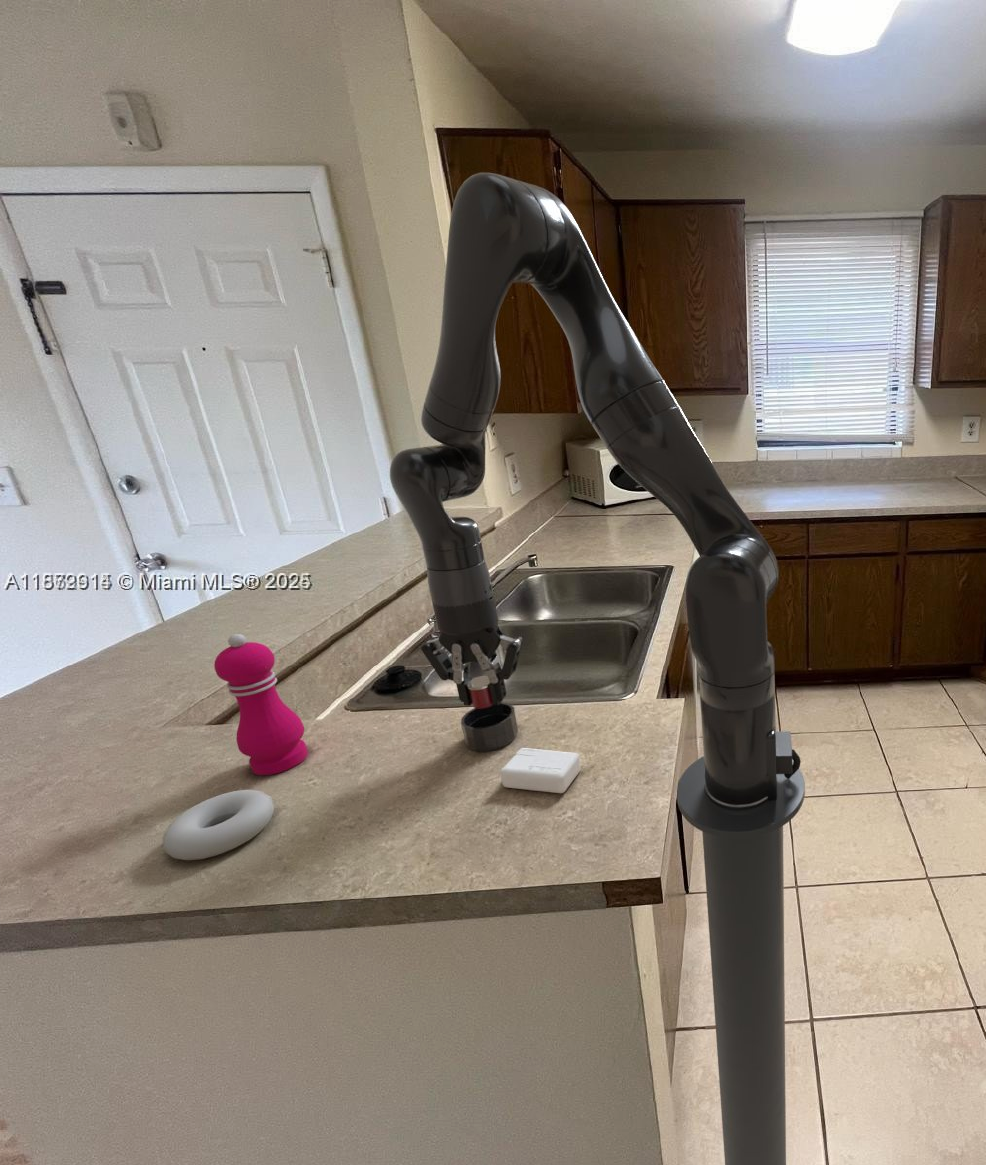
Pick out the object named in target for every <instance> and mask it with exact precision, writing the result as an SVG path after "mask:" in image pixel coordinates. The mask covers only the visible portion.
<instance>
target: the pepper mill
mask: <svg viewBox="0 0 986 1165" xmlns="http://www.w3.org/2000/svg"><path fill="white" fill-rule="evenodd" d="M227 643H228V645H229V646H228V647H226V648H224V649H223V650H222V651H220V652H219V653H218V654H217V656H216V657H215V660H214V663H213V665H214V666H213V667H214V671H215V674H216V676H217V677H218V678H219V679H221V680H222V681H224V682H227V684H226V689H228V694H229V695H231V696H232V697H235V699H236V701H237V704H238V708H239V709H238V710H239V722H238V726H237V730H236V744H237V748H238V750H239V752H240V753H241V754H242V755H244V756H247V757H249V759H248V763H249V766H250V769H251V771H252V773H253V774H254V775H256V776H257V775H258V776H271V775H277V774H279V773H283V772H285V771H288V770H290V769H293V768H294V767H296V766H297V765H299V764H301V763H302V762H303V761H304V760H306V758H307V757H308V755H309V751H308V748H307V745H306V742H305V741H304V740H303V739H302V738H303V737H304V734H305V725H304V724H303V721H302V719H301V718H300V717H299V715H298V714H297V713H296V712H295V711H293V709H291V708H290V707H289V706H287V704H285V703H284V702H283V700H282V699H281V698H280V695H279V693H278V692H277V690H276V683H277V682H278V679H277V677H276V672H274V670H272V669H273V668H274V666H275V663H276V662H275V661H276V659H275V655H274V653H273V651H272V650H271V649H270V648H269V647H268V646H266V645H265V644H263V643H259V642H256V641H255V642H254V641H252V642H251V641H249V642H247V638H246V636H245V635H243V634H241V633H235V634H232V635H231V636H229V637H228V639H227Z"/></svg>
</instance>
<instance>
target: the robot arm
mask: <svg viewBox="0 0 986 1165" xmlns="http://www.w3.org/2000/svg"><path fill="white" fill-rule="evenodd" d="M446 250H447V251H446V263H445V264H446V265H445V274H444V275H445V276H444V287H443V299H442V315H441V324H440V336H439V342H438V343H439V345H438V348H437V349H438V350H437V355H436V359H435V364H434V367H433V371H432V374H431V378H430V381H429V384H428V388H427V392H426V394H425V398H424V402H423V406H422V411H421V415H420V422H421V426H422V429H423V430H424V432H425V433H426V434H427V435H428V436H429V438H432V439H433V440H435V441H436V442H438V443H440V444H436V445H429V446H421V447H414V448H407V449H403V450H401V451H399V452H397V453H396V455H395V456H394V457H393V458H392V460H391V463H390V466H389V480H390V484H391V487H392V489H393V491H394V493H395V495H396V497H397V499H398V500H399V503H400V504H401V505H402V507H403V509H404V511H405V512H406V514H407V516H408V518H409V520H410V522H411V524H412V526H413V527H414V529H415V531H416V533H417V535H418V537H419V539H420V542H421V543H420V544H421V549H422V554H423V557H424V562H425V567H426V573H427V585H428V590H429V594H430V599H431V603H432V607H433V613H434V617H435V621H436V625H437V630H438V631H439V636H438V637H437V638H436V637H431V638H430V639H428V640H427V641H426V642H425V643H424V644H422V645H421V647H420V650H421V652H422V653H423V654H424V657H426V659H427V661H428V662H429V663H430V665H431V667H432V668H433V669H434V671H435V672H436V674H437V676H438V677H439V678H440V679H441V680H442V681H448V680H449V681H452V682H453V683H454V684H455V685H456V690H457V693H458V699H459V701H460V702H461V703H463V705H464V706H465V707H467V706H472V700H471V695H470V691H469V689H468V688H467V683H468V682H469V681H470V680H471V679H473V677H472V676H470V675H471V674H470V673H471V663H472V662H473V663H478V664H479V667H480V668H481V670H482V671H483V672H485V675H486V676H488V679H489V681H490V683H489V688H490V693H491V698H492V703H493V705H499V704H500V703H501V702H503V701H504V699H505V698H506V697H507V689H506V682H505V681H506V680H509V679H510V678H511V677H512V675H513V674H514V673H515V672H516V671H517V668H518V663H519V659H520V656H521V652H522V647H523V644H524V639H523V638H522V636H516V637H514V638H513V637H510V636H507V635H505V634H504V632H503V631H502V629H500V626H499V620H498V619H499V617H498V613H497V612H498V611H497V606H496V601H495V600H496V599H495V596H494V591H493V590H494V587H493V586H494V585H493V583H492V580H491V575H490V570H489V568H488V565H487V563H486V558H485V552H484V546H483V541H482V537H481V532H480V529H479V525H478V523H477V522H476V521H475V520H474V519H473V518H470V517H467V516H458V515H453V516H452V515H451V516H450V515H449V513H448V512H447V511H446V509H445V507H444V504H443V502H448V501H449V502H450V501H453V500H458V499H462V498H466V497H469V496H471V495H472V494H474V493H476V491H477V490H478V489H479V488H480V486H481V485H482V483H483V482H484V479H485V476H486V449H487V448H486V447H487V446H486V433H487V431H488V428H489V424H490V423H491V419H492V416H493V414H494V411H495V408H496V406H497V403H498V399H499V396H500V392H501V391H500V390H501V383H502V374H501V366H500V359H499V355H498V349H497V341H496V325H497V321H498V316H499V313H500V309H501V307H502V304H503V302H504V300H505V298H506V295H507V293H508V292H509V290H510V288H511V286H512V285H513V284H525V285H531V286H532V287H533V288H534V289H535V290H536V291H537V293H538V294H539V295H540V297H541V298H542V299H543V300H544V302H545V304H546V305H547V306H548V308H549V309H550V311H551V312H552V314H553V316H554V317H555V320H557V322H558V323H559V325H560V327H561V329H562V331H563V333H564V335H565V337H566V339H567V341H568V345H569V348H570V352H571V357H572V358H571V359H572V364H573V372H574V376H575V377H574V378H575V385H576V390H577V393H578V398H579V401H580V404H581V407H582V410H583V412H584V414H585V416H586V417H587V419H588V421H589V423H590V424H591V426H592V427H593V429H594V430H595V432H596V434H597V435H598V437H599V438H600V440H601V442H602V443H603V445H604V447H605V448H606V449H607V451H608V452H609V453H610V455H611V456H612V458H613V459H614V460H615V462H616V463H617V464H618V466H619V467H620V468H621V469H622V470H623V471H624V472H625V473H626V474H627V475H628V476H629V477H630V478H631V479H632V480H634V481H635V482H636V483H637V484H638V485H639V486H640V487H642V488H643V489H645V490H646V491H647V493H648V494H650V495H652V496H653V497H654V498H655V499H656V500H658V501H659V502H660V503H661V504H662V505H664V506H665V507H666V508H667V510H669V511H670V512H671V514H673V516H674V517H675V518H676V519H677V521H678V522H679V523H680V525H681V527H682V528H683V529H684V531H685V533H686V534H687V536H688V537H689V539H690V541H691V543H692V544H693V546H694V548H695V550H696V551H697V553H698V555H699V557H698V558H696V559H695V560H694V561H693V563H692V564H691V566H690V567H689V570H688V572H687V575H686V580H685V605H686V606H685V607H686V616H687V624H688V635H689V644H690V649H691V652H692V656H693V657H694V659H695V661H696V662H697V670H698V686H699V703H700V717H701V718H700V719H701V731H702V732H701V733H702V734H701V735H702V747H703V748H702V749H703V750H702V752H703V756H704V765H705V791H706V794H707V796H708V797H709V799H710V800H711V801H712V802H714V803H715V804H717V805H719V806H721V807H724V808H727V809H734V810H744V809H750V808H754V807H757V806H759V805H762V804H763V803H765V802H767V801H770V800H776V799H777V776H776V774H784V776H785V777H786V778H788V779H789V778H790V777H791V776H792V775H793V774H794V773H796V772H797V770H798V769H799V770H800V768H801V763H802V762H801V757H800V756H799V754H798V753H797V752H796V750H795V749H793V747H792V732H791V730H790V731H789V730H788V731H787V730H786V731H785V730H784V731H777V730H776V729H777V728H776V727H777V726H776V725H777V724H776V683H775V682H776V680H775V679H776V678H775V676H776V675H775V674H776V673H775V669H776V666H775V665H776V662H775V660H776V659H775V658H776V657H775V649H774V647H773V645H772V644H771V643H770V642H769V641H768V624H767V623H768V622H767V621H768V620H767V604H768V602H769V601H770V599H771V597H772V596H773V594H774V592H775V591H776V589H777V586H778V584H779V579H780V571H779V564H778V563H779V562H778V559H777V558H776V555H775V553H774V551H773V550H772V548H771V546H770V544H768V542H767V541H766V540H765V538H764V536H763V535H762V534H761V533H760V531H759V529H757V527H756V526H755V525H754V523H753V522H752V521H751V520H750V518H749V517H748V516H747V514H746V513H745V512H744V510H743V509H742V507H741V506H740V505H739V503H738V502H737V501H736V499H735V498H734V496H733V495H732V494H731V493H730V491H729V489H728V488H727V486H726V485H725V483H724V481H723V480H722V478H721V476H720V475H719V472H718V470H717V469H716V466H715V465H714V463H713V462H712V460H711V458H710V457H709V455H708V453H707V451H706V450H705V448H704V447H703V444H702V443H701V442H700V440H699V438H698V437H697V435H696V433H695V432H694V430H693V428H692V427H691V424H690V423H689V421H688V419H687V417H686V416H685V414H684V412H683V409H682V408H681V407H680V405H679V403H678V401H677V400H676V399H675V396H674V394H673V393H672V392H671V390H670V388H669V387H668V385H667V384H666V382H665V379H663V377H662V375H661V374H660V373H659V371H658V369H657V368H656V366H655V365H654V364H653V362H652V360H651V359H650V357H649V355H648V353H647V351H646V350H645V348H644V346H643V344H642V343H641V342H640V341H639V339H638V336H637V335H636V333H635V331H634V330H633V328H632V326H631V325H630V323H629V321H628V320H627V318H626V317H625V315H624V314H623V312H622V311H621V309H620V307H619V306H618V303H617V302H616V301H615V300H616V299H615V298H614V297H613V295H612V293H611V291H610V289H609V287H608V284H607V283H606V281H605V279H604V277H603V274H602V272H601V271H600V268H599V266H598V264H597V262H596V260H595V258H594V256H593V254H592V252H591V249H590V247H589V246H588V243H587V241H586V239H585V237H584V234H583V233H582V231H581V229H580V227H579V225H578V223H577V222H576V220H575V218H574V216H573V215H572V213H571V211H570V210H569V208H568V207H567V206H566V205H565V204H564V202H563V201H562V200H561V199H560V198H558V197H557V196H556V195H555V194H553V193H552V192H550V191H549V190H548V189H545V188H544V187H541V186H539V185H536V184H532V183H528V182H525V181H522V180H518V179H515V178H512V177H509V176H505V175H502V174H498V173H495V172H494V173H492V172H477V173H475V174H472V175H471V176H469V177H468V178H466V179H465V180H464V181H463V183H462V184H461V185H460V187H459V188H458V190H457V192H456V195H455V197H454V200H453V205H452V211H451V215H450V220H449V228H448V238H447V249H446ZM500 645H501V646H502V650H503V652H502V653H504V654H505V657H504V661H503V665H502V662H501V655H500V653H499V651H498V648H499V646H500ZM447 651H448V653H450V654H451V655H452V659H451V658H450V656H449V654H448V653H447ZM792 762H793V765H792Z"/></svg>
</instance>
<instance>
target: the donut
mask: <svg viewBox="0 0 986 1165" xmlns="http://www.w3.org/2000/svg"><path fill="white" fill-rule="evenodd" d="M274 813H275V804H274V800H273V798H272V797H271V796H270V795H268V794H267V793H266V792H263V791H261V790H256V789H255V790H254V789H239V790H234V791H229V792H225V793H222V794H219V795H216V796H214V797H211V798H207V799H206V800H204V801H201V802H200V803H197V804H195V805H193V806H192V807H190V808H189V809H187V810H185V811H184V812H182V813H181V814H180V815H179V816H177V817H176V818H175V819H174V820H173V821H172V822H171V823H170V824H169V825H168V827H167V828H166V830H165V832H164V833H163V835H162V849H163V851H164V852H165V853H166V854H168V855H169V856H170V857H171V858H173V859H175V860H183V861H197V860H205V859H207V858H211V857H216V856H219V855H222V854H224V853H226V852H229V851H232V850H234V849H236V848H237V847H240V846H242V845H243V844H245V843H246V842H249V841H250V840H251V839H253V838H254V837H255V836H257V835H258V834H260V832H262V830H264V828H265V827H266V826H267V825H268V824H269V823H270V822H271V819H272V817H273V815H274Z"/></svg>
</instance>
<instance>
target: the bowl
mask: <svg viewBox="0 0 986 1165" xmlns="http://www.w3.org/2000/svg"><path fill="white" fill-rule="evenodd" d="M460 720H461V721H460V725H461V730H462V734H463V738H464V743H465V745H466V746H467V747H468V748H469V749H470V750H471V751H473V752H477V753H479V752H480V753H484V752H485V753H486V752H492V751H496V750H499V749H501V748H504V747H506V746H508V745H509V744H511V743H512V742H513V741H514V740H515V739H516V738H517V736H518V733H519V726H518V724H519V723H518V720H517V715H516V709H515V707H514V706H513V705H512V704H511V703H508V702H503V701H502V702H501V703H500V704H499V705H492V706H490V707H487V708H483V709H477V708H474V707H473V708H471V710H469V711H467V712H466V713H465V714H464V715H463V716H462V717H461V719H460Z"/></svg>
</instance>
